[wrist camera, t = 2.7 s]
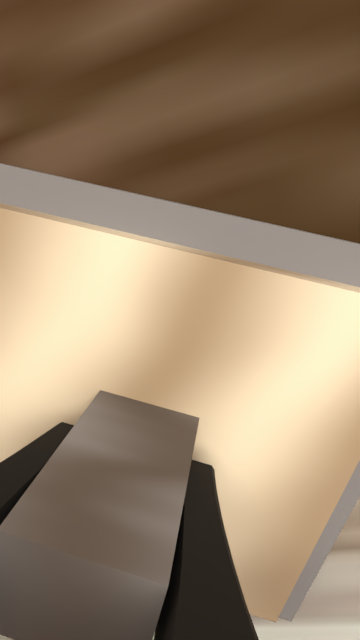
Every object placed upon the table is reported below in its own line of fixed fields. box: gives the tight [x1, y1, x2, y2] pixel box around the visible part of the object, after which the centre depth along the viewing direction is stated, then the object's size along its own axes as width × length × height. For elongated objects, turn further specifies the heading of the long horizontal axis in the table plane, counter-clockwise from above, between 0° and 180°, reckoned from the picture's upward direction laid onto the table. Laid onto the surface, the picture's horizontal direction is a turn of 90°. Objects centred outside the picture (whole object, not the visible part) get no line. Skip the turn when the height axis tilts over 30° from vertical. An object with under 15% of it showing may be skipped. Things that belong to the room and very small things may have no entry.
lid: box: [0, 203, 360, 640], centre depth 8 cm, size 12×12×5 cm
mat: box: [0, 163, 360, 621], centre depth 11 cm, size 14×14×1 cm
